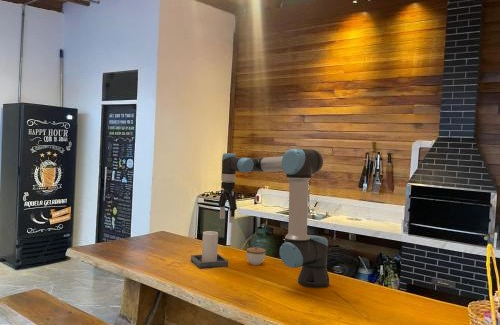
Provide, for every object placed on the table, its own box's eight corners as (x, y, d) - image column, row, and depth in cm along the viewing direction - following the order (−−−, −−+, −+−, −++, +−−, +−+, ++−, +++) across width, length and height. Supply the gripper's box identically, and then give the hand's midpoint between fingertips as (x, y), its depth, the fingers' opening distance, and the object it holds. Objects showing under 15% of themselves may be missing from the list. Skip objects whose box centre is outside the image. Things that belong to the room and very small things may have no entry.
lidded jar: (257, 267, 230) (258, 250, 229) (241, 263, 236) (242, 246, 236) (268, 263, 238) (269, 247, 238) (253, 260, 245) (254, 243, 244)
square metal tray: (228, 266, 228) (228, 261, 228) (199, 268, 222) (199, 263, 222) (217, 258, 243) (218, 253, 243) (190, 260, 236) (190, 255, 236)
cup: (216, 264, 228) (217, 234, 227) (200, 263, 228) (202, 233, 228) (217, 260, 236) (218, 231, 236) (202, 259, 236) (203, 230, 236)
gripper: (244, 183, 222) (242, 224, 223) (225, 180, 245) (224, 216, 245) (230, 183, 219) (229, 224, 220) (213, 179, 242) (212, 217, 242)
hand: (226, 220), depth 233 cm, fingers open, 13 cm apart
